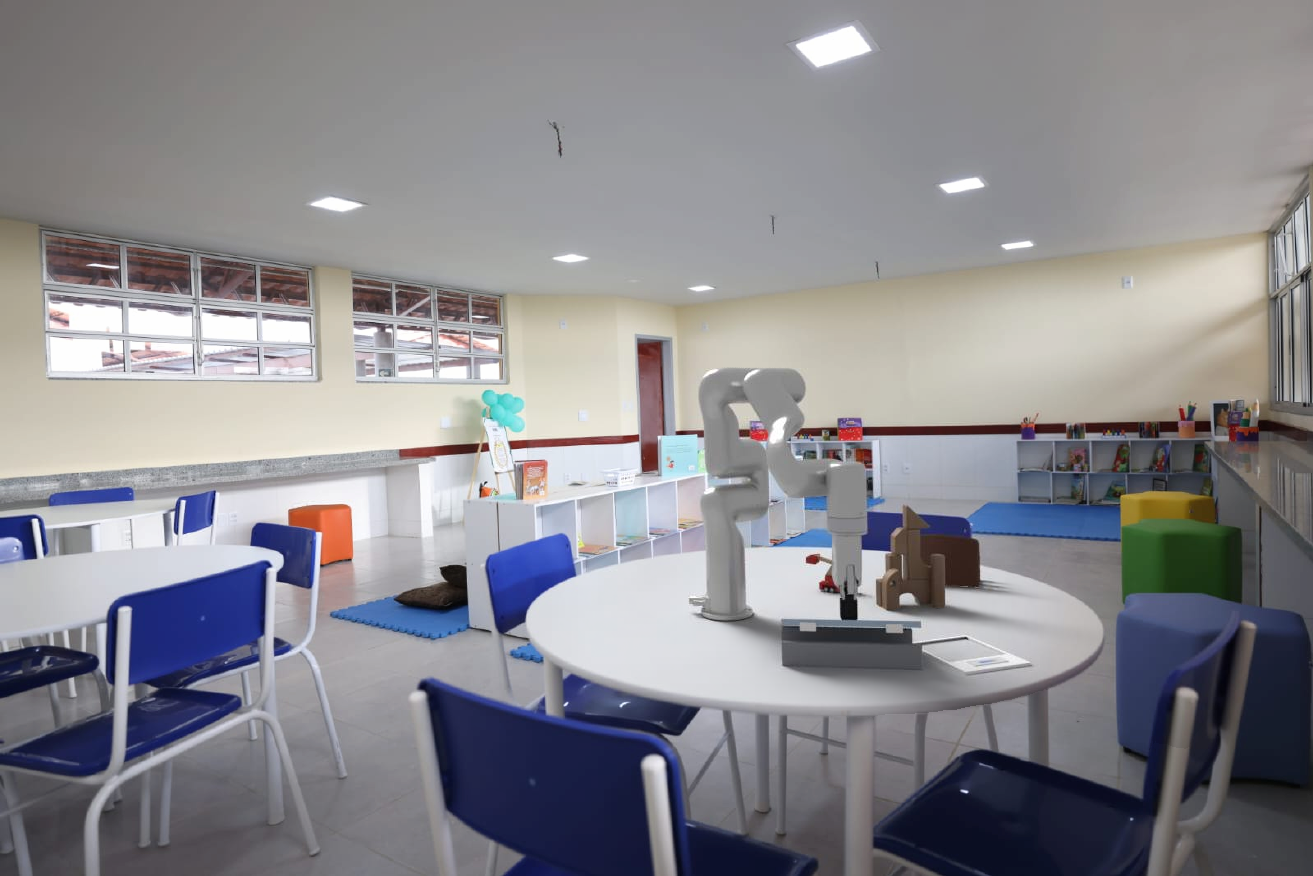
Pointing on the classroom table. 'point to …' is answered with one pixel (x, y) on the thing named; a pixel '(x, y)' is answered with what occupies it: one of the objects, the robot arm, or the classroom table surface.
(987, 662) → the photo frame
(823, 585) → the toy fire truck
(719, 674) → the classroom table surface
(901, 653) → the cable duct
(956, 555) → the letter holder
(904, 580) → the wooden toy
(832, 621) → the duct cover
